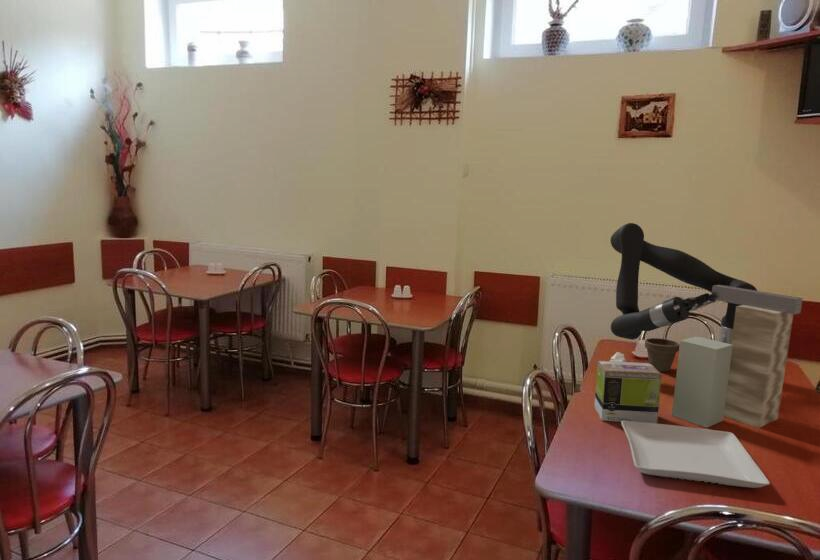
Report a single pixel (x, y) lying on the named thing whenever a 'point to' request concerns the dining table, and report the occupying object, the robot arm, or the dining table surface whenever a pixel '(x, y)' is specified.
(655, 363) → the flower pot
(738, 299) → the metal bar
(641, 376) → the tea box
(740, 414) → the tall stand
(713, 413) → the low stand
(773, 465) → the dining table surface
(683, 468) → the square plate
